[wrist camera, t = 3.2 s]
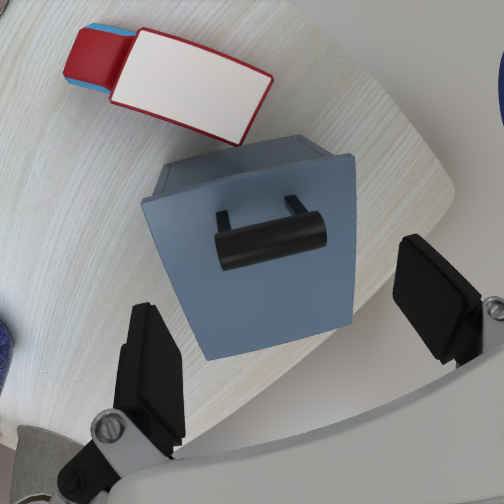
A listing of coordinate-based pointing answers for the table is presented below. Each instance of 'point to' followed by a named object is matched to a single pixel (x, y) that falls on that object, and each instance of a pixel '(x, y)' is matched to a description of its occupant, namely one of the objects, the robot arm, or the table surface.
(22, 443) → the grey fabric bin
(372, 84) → the table surface
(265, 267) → the lid
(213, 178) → the blue open box
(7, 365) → the planter
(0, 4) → the candy apple
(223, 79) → the toy truck
